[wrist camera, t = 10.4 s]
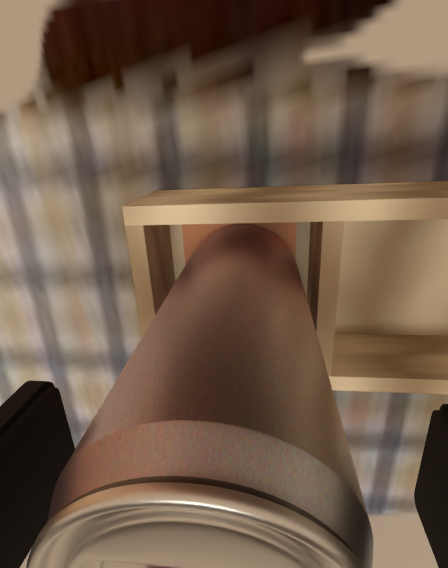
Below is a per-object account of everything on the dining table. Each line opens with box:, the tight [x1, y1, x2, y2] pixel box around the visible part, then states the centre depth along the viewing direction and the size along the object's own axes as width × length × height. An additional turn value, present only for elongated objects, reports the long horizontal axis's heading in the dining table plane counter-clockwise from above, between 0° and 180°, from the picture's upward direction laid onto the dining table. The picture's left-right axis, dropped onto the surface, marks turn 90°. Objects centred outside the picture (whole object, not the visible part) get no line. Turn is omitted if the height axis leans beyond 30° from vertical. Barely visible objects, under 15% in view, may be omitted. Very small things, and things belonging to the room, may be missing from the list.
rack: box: [122, 181, 448, 394], centre depth 17 cm, size 25×9×5 cm, turn 92°
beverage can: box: [26, 225, 373, 568], centre depth 12 cm, size 6×6×15 cm
